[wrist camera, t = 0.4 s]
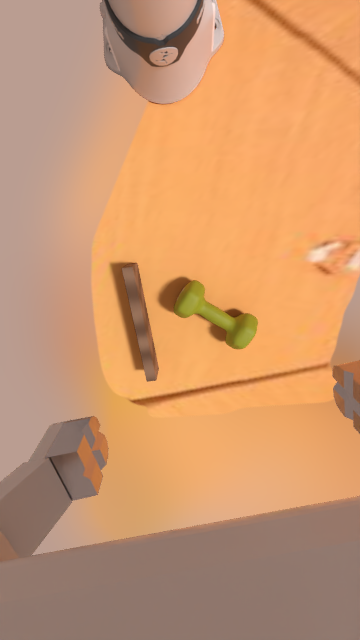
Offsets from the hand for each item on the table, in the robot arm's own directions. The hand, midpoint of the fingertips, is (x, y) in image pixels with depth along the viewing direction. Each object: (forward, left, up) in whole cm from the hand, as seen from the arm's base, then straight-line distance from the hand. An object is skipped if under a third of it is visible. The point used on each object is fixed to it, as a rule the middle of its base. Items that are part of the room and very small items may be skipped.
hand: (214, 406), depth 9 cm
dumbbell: (+12, +3, -48) cm, 49 cm away
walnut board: (+12, -12, -47) cm, 50 cm away
